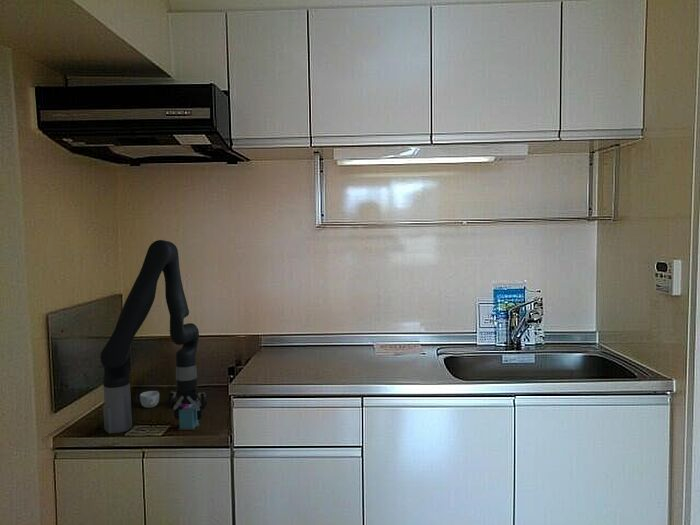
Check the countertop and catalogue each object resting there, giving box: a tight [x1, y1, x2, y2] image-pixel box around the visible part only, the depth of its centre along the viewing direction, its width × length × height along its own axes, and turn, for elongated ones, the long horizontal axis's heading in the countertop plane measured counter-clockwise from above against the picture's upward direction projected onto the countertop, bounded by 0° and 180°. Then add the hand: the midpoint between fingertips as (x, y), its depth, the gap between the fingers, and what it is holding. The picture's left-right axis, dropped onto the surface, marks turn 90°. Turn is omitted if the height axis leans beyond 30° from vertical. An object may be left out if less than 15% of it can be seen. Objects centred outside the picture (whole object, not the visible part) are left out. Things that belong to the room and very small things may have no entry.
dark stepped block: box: [178, 423, 201, 431], centre depth 219 cm, size 6×6×6 cm
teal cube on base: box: [178, 407, 199, 429], centre depth 219 cm, size 5×5×7 cm
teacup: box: [139, 390, 160, 409], centre depth 244 cm, size 10×8×5 cm
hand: (188, 419), depth 218 cm, fingers open, 8 cm apart
